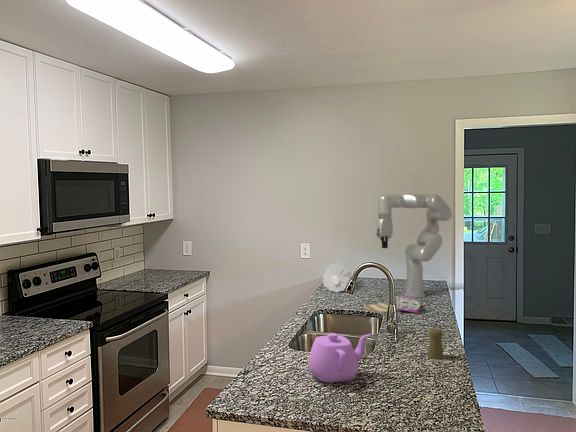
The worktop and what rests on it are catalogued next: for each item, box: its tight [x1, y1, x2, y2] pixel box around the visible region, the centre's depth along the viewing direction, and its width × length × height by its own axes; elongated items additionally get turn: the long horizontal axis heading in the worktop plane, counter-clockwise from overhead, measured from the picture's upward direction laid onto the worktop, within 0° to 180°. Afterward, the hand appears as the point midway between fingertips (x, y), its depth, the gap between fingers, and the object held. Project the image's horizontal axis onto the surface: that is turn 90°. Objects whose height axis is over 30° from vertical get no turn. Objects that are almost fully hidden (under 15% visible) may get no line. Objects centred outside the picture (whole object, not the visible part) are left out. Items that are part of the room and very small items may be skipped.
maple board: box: [363, 302, 402, 315], centre depth 262 cm, size 15×15×1 cm
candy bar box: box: [395, 293, 421, 314], centre depth 261 cm, size 11×5×16 cm
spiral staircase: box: [322, 260, 353, 293], centre depth 314 cm, size 18×18×25 cm
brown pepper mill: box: [427, 328, 444, 360], centre depth 188 cm, size 6×6×11 cm
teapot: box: [308, 332, 372, 383], centre depth 169 cm, size 23×21×15 cm
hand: (384, 247), depth 281 cm, fingers closed
